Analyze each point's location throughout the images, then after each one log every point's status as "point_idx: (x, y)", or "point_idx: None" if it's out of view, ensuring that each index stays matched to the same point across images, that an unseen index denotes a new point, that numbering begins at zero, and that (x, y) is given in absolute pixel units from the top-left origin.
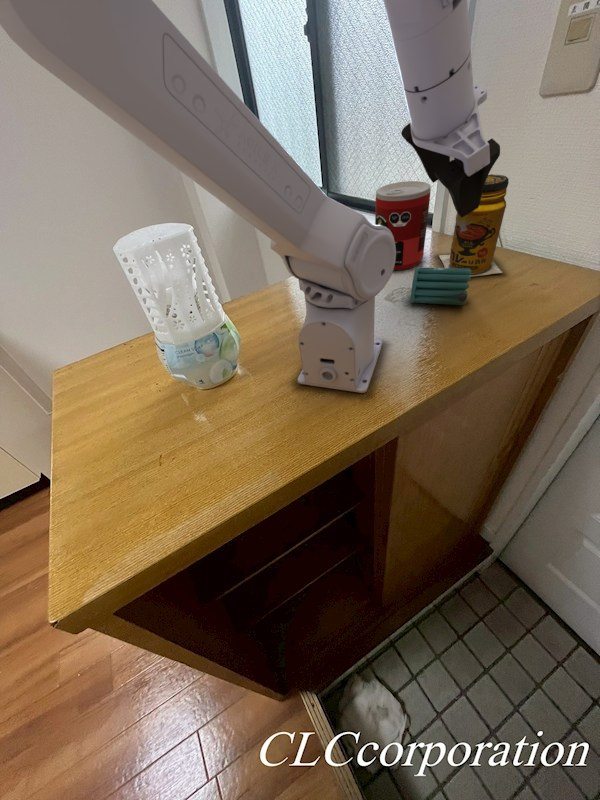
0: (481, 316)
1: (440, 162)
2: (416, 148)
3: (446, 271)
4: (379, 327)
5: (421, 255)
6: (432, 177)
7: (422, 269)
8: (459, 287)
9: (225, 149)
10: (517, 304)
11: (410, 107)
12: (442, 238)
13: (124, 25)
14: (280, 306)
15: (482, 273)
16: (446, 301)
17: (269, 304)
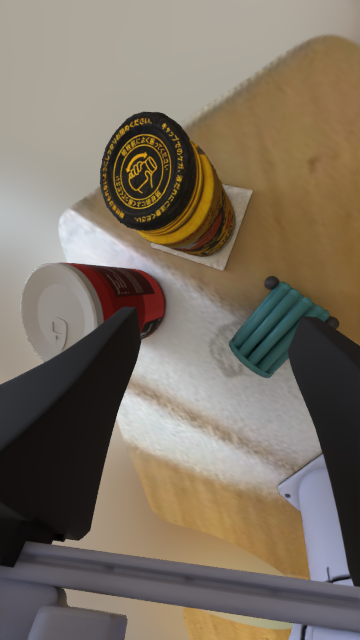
0: (352, 296)
1: (125, 350)
2: (101, 472)
3: (284, 333)
4: (293, 422)
5: (154, 282)
6: (137, 352)
7: (255, 359)
8: None
9: None
10: (354, 227)
11: None
12: (100, 208)
13: None
14: (179, 478)
15: (235, 219)
16: None
17: (168, 484)
